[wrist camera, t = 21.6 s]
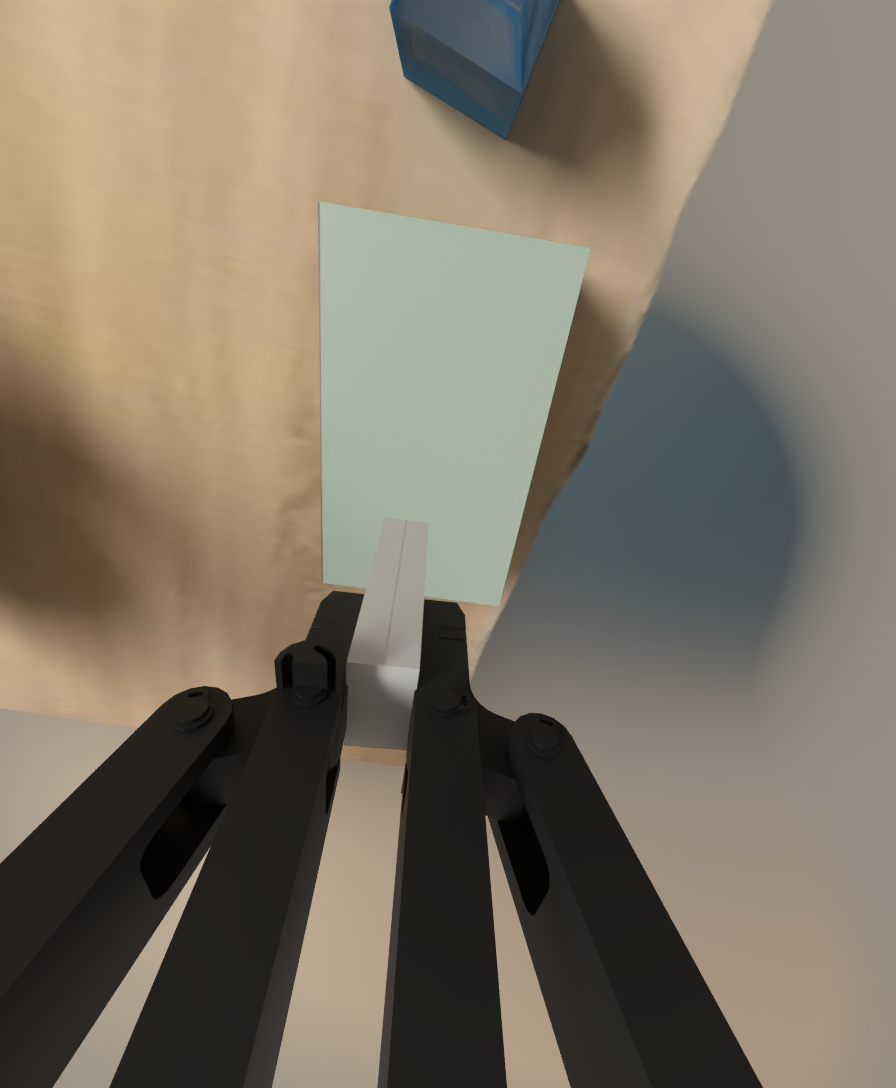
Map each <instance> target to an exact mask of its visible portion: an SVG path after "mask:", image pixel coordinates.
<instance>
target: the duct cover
mask: <svg viewBox="0 0 896 1088" xmlns="http://www.w3.org/2000/svg"><path fill="white" fill-rule="evenodd" d="M318 245H319V344H320V443H321V542H322V582H323V583H326V584H334V585H341V586H349V587H356V588H364V589H366V587H367V583H368V579H369V575H370V572H371V568H372V564H373V560H374V557H375V553H376V549H377V545H378V541H379V538H380V534H381V530H382V526H383V523H384V519H385V518H392V519H400V520H409V521H417V522H425V523H429V527H428V543H427V560H426V576H425V592H424V597H432V598H439V599H447V600H454V601H462V602H469V603H477V604H485V605H492V606H499V605H500V601H501V597H502V593H503V589H504V585H505V582H506V578H507V574H508V570H509V566H510V562H511V558H512V554H513V550H514V546H515V542H516V539H517V535H518V531H519V527H520V523H521V519H522V515H523V511H524V507H525V503H526V499H527V496H528V492H529V488H530V484H531V480H532V476H533V472H534V468H535V464H536V460H537V456H538V453H539V449H540V445H541V441H542V437H543V433H544V429H545V425H546V421H547V417H548V413H549V410H550V406H551V402H552V398H553V394H554V390H555V386H556V382H557V378H558V374H559V370H560V366H561V363H562V359H563V355H564V351H565V347H566V343H567V339H568V335H569V331H570V327H571V323H572V320H573V316H574V312H575V308H576V304H577V300H578V296H579V292H580V288H581V284H582V280H583V277H584V273H585V269H586V265H587V261H588V257H589V253H590V249H591V248H588V247H583V246H577V245H571V244H565V243H559V242H553V241H548V240H542V239H536V238H530V237H524V236H518V235H513V234H507V233H501V232H495V231H489V230H483V229H478V228H472V227H466V226H460V225H454V224H448V223H443V222H437V221H431V220H425V219H419V218H413V217H408V216H402V215H396V214H390V213H384V212H378V211H373V210H367V209H361V208H355V207H349V206H343V205H338V204H332V203H326V202H318Z"/></svg>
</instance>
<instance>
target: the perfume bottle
mask: <svg viewBox="0 0 896 1088" xmlns="http://www.w3.org/2000/svg"><path fill="white" fill-rule="evenodd" d="M559 1H560V0H391V3H390V7H389V8H390V13H391V17H392V22H393V27H394V32H395V36H396V41H397V46H398V51H399V55H400V60H401V65H402V70H403V74H404V77H406V78H407V79H409V80H411V81H412V82H414V83H415V84H417V85H419V86H420V87H422V88H423V89H425V90H426V91H428V92H430V93H431V94H433V95H434V96H436V97H438V98H439V99H441V100H442V101H444V102H446V103H447V104H449V105H450V106H452V107H454V108H455V109H457V110H458V111H460V112H462V113H463V114H465V115H466V116H468V117H470V118H471V119H473V120H474V121H476V122H478V123H479V124H481V125H482V126H484V127H486V128H487V129H489V130H490V131H492V132H494V133H495V134H497V135H498V136H500V137H502V138H503V139H505V140H506V138H507V136H508V133H509V130H510V128H511V125H512V123H513V120H514V118H515V115H516V112H517V110H518V107H519V105H520V102H521V99H522V97H523V94H524V92H525V89H526V87H527V84H528V81H529V79H530V76H531V74H532V71H533V68H534V66H535V63H536V61H537V58H538V56H539V53H540V50H541V48H542V45H543V43H544V40H545V38H546V35H547V32H548V30H549V27H550V25H551V22H552V19H553V17H554V14H555V12H556V9H557V7H558V4H559Z"/></svg>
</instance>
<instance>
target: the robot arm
mask: <svg viewBox="0 0 896 1088" xmlns="http://www.w3.org/2000/svg"><path fill="white" fill-rule="evenodd" d="M428 527H429V523H425V522H417V521H409V520H400V519H392V518H385V519H384V523H383V526H382V530H381V534H380V538H379V541H378V545H377V549H376V553H375V557H374V560H373V564H372V568H371V572H370V575H369V579H368V583H367V587H366V591H365V594H357V593H348V592H338V591H333V592H331V593H330V594H329V595H328V596H327V597H326V598H325V599H323V600H322V601H321V603H320V606H319V608H318V611H317V613H316V617H315V618H314V621H313V623H312V626H311V628H310V631H309V633H308V636H307V638H306V640H305V641H302V642H298V643H295V644H292V645H290V646H289V647H287V648H286V649H284V650H283V651H281V652H280V654H279V655H278V656H277V658H276V659H275V660H274V662H275V673H276V684H277V688H275V689H273V690H270V691H268V692H266V693H263V694H259V695H255V696H249V697H244V698H238V699H233V700H231V699H230V697H229V695H228V694H227V693H226V692H224V691H223V690H221V689H219V688H216V687H208V686H202V687H196V688H190V689H188V690H186V691H183V692H181V693H178V694H176V695H174V696H173V697H172V698H170V699H169V700H168V701H166V702H165V703H164V704H163V705H162V706H160V707H159V708H158V709H157V710H156V711H155V712H154V713H153V714H152V715H151V716H150V717H149V718H148V719H147V720H146V721H145V722H144V723H143V724H142V725H141V726H140V727H139V728H138V729H137V730H136V731H135V732H134V733H133V734H132V735H131V736H130V737H129V738H128V739H127V740H126V741H125V742H124V743H123V744H122V745H121V746H120V747H119V748H118V749H117V750H116V751H115V752H114V753H113V754H112V755H111V756H110V757H109V758H108V759H107V760H105V761H104V762H103V763H102V764H101V765H100V767H98V768H97V769H96V770H95V772H93V773H92V774H91V775H90V776H89V777H88V778H87V779H86V780H85V781H84V782H83V783H82V784H81V785H80V786H79V787H78V788H77V789H76V790H75V791H74V792H73V793H72V794H71V795H70V796H69V797H68V798H67V799H66V800H65V801H64V802H63V803H62V804H61V805H60V806H59V807H58V808H57V809H56V810H54V811H53V813H51V814H50V815H49V816H48V817H47V819H45V820H44V821H43V822H42V824H40V825H39V826H38V827H37V828H36V829H35V830H34V831H33V832H32V833H31V834H30V835H29V836H28V837H27V838H26V839H25V840H24V841H23V842H22V843H21V844H20V845H19V846H18V847H17V848H16V849H15V850H14V851H13V852H12V853H11V854H10V855H9V856H8V857H7V858H6V859H5V860H4V861H3V862H1V863H0V1088H52V1087H53V1086H54V1084H55V1083H56V1081H57V1080H58V1078H59V1077H60V1075H61V1074H62V1072H63V1071H64V1069H65V1067H66V1066H67V1064H68V1063H69V1061H70V1060H71V1058H72V1057H73V1055H74V1054H75V1052H76V1051H77V1049H78V1047H79V1046H80V1045H81V1043H82V1042H83V1040H84V1038H85V1037H86V1035H87V1034H88V1032H89V1031H90V1029H91V1028H92V1026H93V1025H94V1023H95V1022H96V1020H97V1019H98V1017H99V1016H100V1014H101V1013H102V1011H103V1010H104V1008H105V1007H106V1005H107V1003H108V1002H109V1000H110V999H111V997H112V996H113V994H114V993H115V991H116V990H117V988H118V987H119V985H120V984H121V982H122V981H123V979H124V978H125V976H126V974H127V973H128V971H129V970H130V968H131V967H132V965H133V964H134V962H135V961H136V959H137V958H138V956H139V954H140V953H141V952H142V950H143V949H144V947H145V946H146V944H147V942H148V941H149V939H150V938H151V936H152V935H153V933H154V932H155V930H156V929H157V927H158V925H159V924H160V923H161V921H162V920H163V918H164V917H165V915H166V913H167V912H168V910H169V909H170V907H171V906H172V904H173V903H174V901H175V900H176V898H177V897H178V895H179V893H180V892H181V891H182V889H183V887H184V886H185V884H186V883H187V881H188V880H189V878H190V877H191V875H192V874H193V872H194V871H195V869H196V868H197V866H198V865H199V863H200V862H201V860H202V859H203V857H204V855H205V854H206V852H207V851H208V849H209V848H210V850H209V852H208V854H207V857H206V859H205V862H204V864H203V866H202V869H201V871H200V874H199V876H198V878H197V881H196V883H195V885H194V888H193V890H192V892H191V895H190V897H189V900H188V902H187V904H186V907H185V909H184V911H183V914H182V916H181V919H180V921H179V923H178V926H177V928H176V930H175V933H174V935H173V938H172V940H171V942H170V945H169V947H168V950H167V952H166V954H165V957H164V959H163V962H162V964H161V966H160V969H159V971H158V973H157V976H156V978H155V980H154V983H153V985H152V987H151V990H150V992H149V995H148V997H147V999H146V1002H145V1004H144V1007H143V1009H142V1011H141V1014H140V1016H139V1018H138V1021H137V1023H136V1026H135V1028H134V1030H133V1033H132V1035H131V1037H130V1040H129V1042H128V1045H127V1047H126V1049H125V1052H124V1054H123V1057H122V1059H121V1061H120V1064H119V1066H118V1068H117V1071H116V1073H115V1076H114V1078H113V1080H112V1083H111V1085H110V1087H109V1088H272V1083H273V1079H274V1074H275V1069H276V1065H277V1060H278V1055H279V1051H280V1046H281V1041H282V1037H283V1032H284V1028H285V1023H286V1018H287V1014H288V1008H289V1004H290V1000H291V995H292V990H293V985H294V981H295V976H296V972H297V967H298V963H299V958H300V953H301V949H302V944H303V939H304V934H305V930H306V925H307V921H308V916H309V911H310V907H311V902H312V897H313V893H314V888H315V883H316V879H317V874H318V870H319V865H320V860H321V855H322V851H323V846H324V841H325V837H326V832H327V828H328V823H329V818H330V813H331V809H332V804H333V800H334V795H335V791H336V786H337V781H338V777H339V771H340V755H341V751H342V746H343V742H344V745H348V746H361V747H374V748H387V749H400V750H407V755H406V764H405V772H404V777H403V784H402V790H401V793H402V804H401V816H400V828H399V840H398V851H397V852H398V853H397V864H396V875H395V887H394V898H393V910H392V922H391V935H390V947H389V958H388V970H387V983H386V994H385V1005H384V1018H383V1029H382V1041H381V1053H380V1065H379V1077H378V1088H507V1083H506V1070H505V1057H504V1045H503V1033H502V1020H501V1008H500V996H499V983H498V970H497V957H496V945H495V932H494V920H493V907H492V894H491V882H490V869H489V857H488V845H487V833H486V819H485V815H487V816H488V819H489V822H490V825H491V828H492V831H493V835H494V838H495V842H496V845H497V848H498V851H499V855H500V858H501V861H502V864H503V868H504V871H505V874H506V877H507V880H508V884H509V887H510V890H511V894H512V897H513V900H514V904H515V907H516V910H517V913H518V917H519V920H520V923H521V926H522V930H523V933H524V936H525V939H526V943H527V946H528V949H529V952H530V956H531V959H532V962H533V965H534V969H535V972H536V975H537V978H538V981H539V985H540V988H541V992H542V995H543V998H544V1001H545V1005H546V1008H547V1011H548V1014H549V1018H550V1021H551V1024H552V1027H553V1031H554V1034H555V1037H556V1040H557V1044H558V1047H559V1050H560V1054H561V1057H562V1060H563V1063H564V1067H565V1070H566V1073H567V1076H568V1080H569V1083H570V1086H571V1088H763V1087H762V1085H761V1083H760V1082H759V1080H758V1078H757V1076H756V1074H755V1072H754V1070H753V1069H752V1067H751V1065H750V1063H749V1061H748V1059H747V1058H746V1056H745V1054H744V1053H743V1050H742V1048H741V1047H740V1045H739V1043H738V1041H737V1039H736V1037H735V1035H734V1034H733V1032H732V1030H731V1028H730V1026H729V1024H728V1023H727V1021H726V1019H725V1017H724V1015H723V1013H722V1012H721V1010H720V1008H719V1006H718V1004H717V1002H716V1001H715V999H714V997H713V995H712V993H711V991H710V990H709V988H708V986H707V984H706V982H705V981H704V979H703V977H702V975H701V973H700V971H699V969H698V967H697V966H696V964H695V962H694V960H693V958H692V956H691V955H690V953H689V951H688V949H687V947H686V945H685V944H684V942H683V940H682V938H681V936H680V935H679V933H678V931H677V929H676V927H675V925H674V923H673V922H672V920H671V918H670V916H669V914H668V912H667V911H666V909H665V907H664V905H663V903H662V901H661V899H660V898H659V896H658V894H657V892H656V890H655V888H654V887H653V885H652V883H651V881H650V879H649V877H648V876H647V874H646V872H645V870H644V868H643V866H642V865H641V863H640V861H639V859H638V857H637V855H636V853H635V852H634V850H633V848H632V846H631V844H630V843H629V841H628V839H627V837H626V835H625V833H624V831H623V830H622V828H621V826H620V824H619V822H618V820H617V819H616V817H615V815H614V813H613V811H612V809H611V808H610V806H609V804H608V802H607V800H606V798H605V797H604V795H603V793H602V791H601V789H600V787H599V785H598V784H597V782H596V780H595V778H594V776H593V775H592V773H591V771H590V769H589V767H588V765H587V764H586V762H585V760H584V758H583V756H582V754H581V753H580V751H579V749H578V747H577V745H576V743H575V741H574V740H573V738H572V736H571V735H570V734H569V732H568V731H567V729H566V728H565V727H564V726H563V725H562V724H560V723H559V722H558V721H556V720H555V719H554V718H552V717H549V716H546V715H543V714H538V713H529V714H526V715H523V716H520V717H519V718H518V719H517V720H516V721H515V722H514V721H512V720H509V719H507V718H504V717H502V716H499V715H496V714H494V713H492V712H491V711H488V710H487V709H485V708H484V707H483V706H482V705H481V704H480V703H479V702H478V701H477V700H476V699H475V697H474V695H473V693H472V691H471V688H470V682H469V668H468V654H467V643H466V625H465V615H464V613H463V612H462V610H461V609H460V607H459V605H458V604H457V603H453V602H444V601H435V600H425V599H424V592H425V576H426V560H427V543H428ZM210 846H211V847H210Z"/></svg>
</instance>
